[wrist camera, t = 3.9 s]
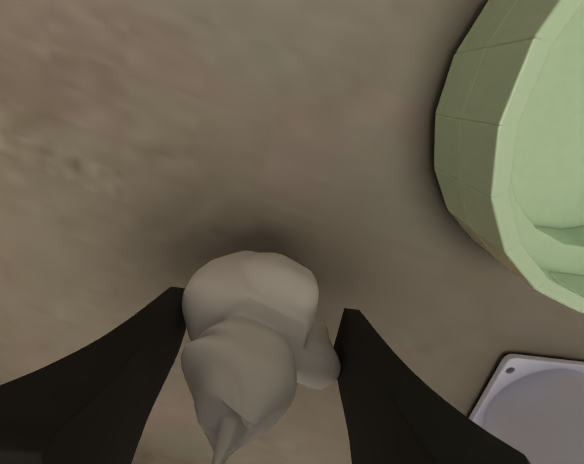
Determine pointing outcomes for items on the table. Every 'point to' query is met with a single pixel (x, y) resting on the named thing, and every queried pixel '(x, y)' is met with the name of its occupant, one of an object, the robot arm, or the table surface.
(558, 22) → the bowl
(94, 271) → the table surface
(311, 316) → the beige lumpy piece
